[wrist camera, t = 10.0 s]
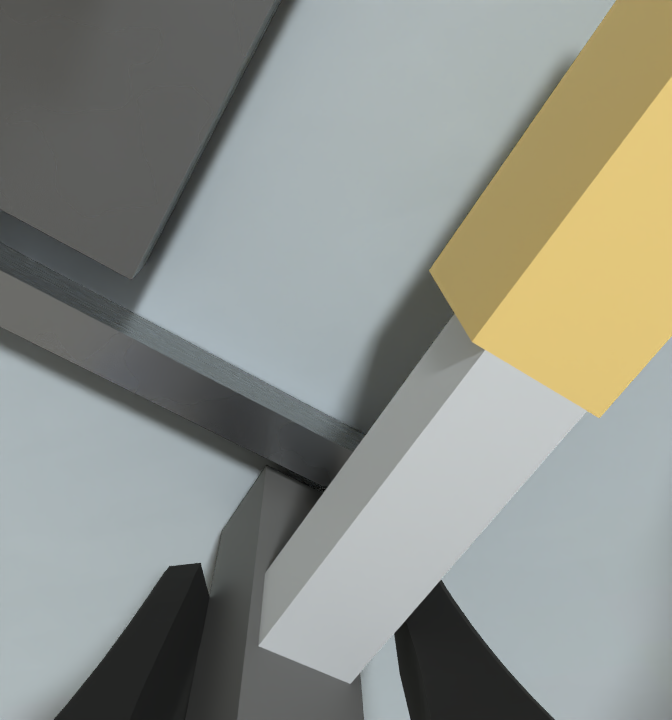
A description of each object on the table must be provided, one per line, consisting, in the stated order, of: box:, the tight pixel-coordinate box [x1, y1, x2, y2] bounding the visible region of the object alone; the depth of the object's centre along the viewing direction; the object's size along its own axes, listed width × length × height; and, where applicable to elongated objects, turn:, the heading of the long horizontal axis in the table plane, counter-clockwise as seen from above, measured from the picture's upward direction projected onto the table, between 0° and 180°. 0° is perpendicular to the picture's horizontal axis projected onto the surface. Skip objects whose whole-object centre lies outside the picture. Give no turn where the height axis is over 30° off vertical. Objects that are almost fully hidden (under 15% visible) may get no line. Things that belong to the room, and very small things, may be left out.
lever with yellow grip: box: [185, 0, 672, 720], centre depth 9 cm, size 2×14×6 cm, turn 148°
